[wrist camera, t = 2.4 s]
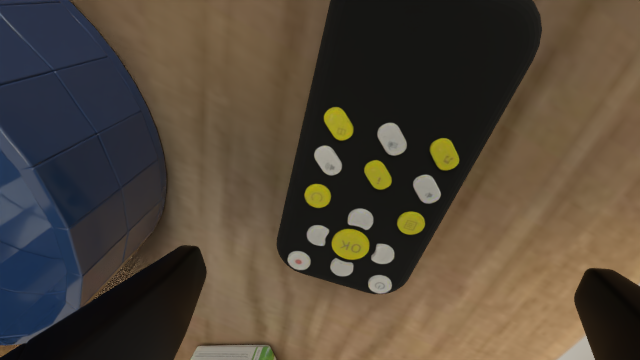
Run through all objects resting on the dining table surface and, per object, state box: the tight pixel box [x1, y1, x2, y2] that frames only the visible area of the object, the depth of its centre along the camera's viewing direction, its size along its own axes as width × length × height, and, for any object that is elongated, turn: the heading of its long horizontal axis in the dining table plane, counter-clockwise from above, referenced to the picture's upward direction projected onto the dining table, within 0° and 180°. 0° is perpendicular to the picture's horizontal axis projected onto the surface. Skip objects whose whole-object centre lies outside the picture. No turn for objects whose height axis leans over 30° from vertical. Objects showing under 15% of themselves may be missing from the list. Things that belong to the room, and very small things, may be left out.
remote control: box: [277, 0, 542, 294], centre depth 12 cm, size 6×13×2 cm, turn 166°
